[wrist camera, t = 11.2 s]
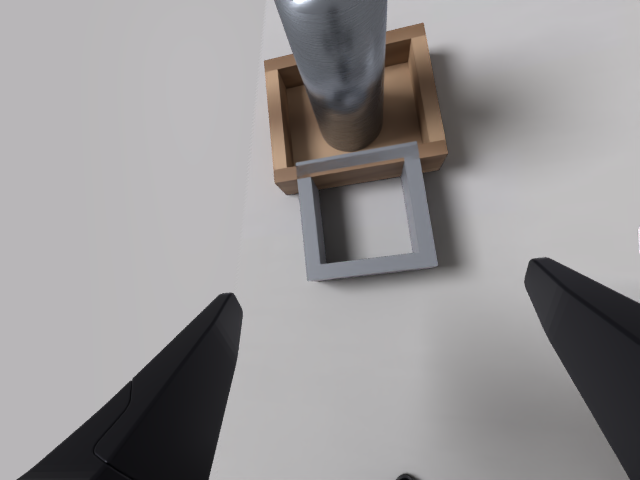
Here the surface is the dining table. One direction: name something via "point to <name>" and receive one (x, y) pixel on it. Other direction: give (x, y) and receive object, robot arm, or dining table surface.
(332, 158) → the tray
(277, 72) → the wooden tray
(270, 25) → the dining table surface
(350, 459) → the dining table surface
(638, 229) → the white cup
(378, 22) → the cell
